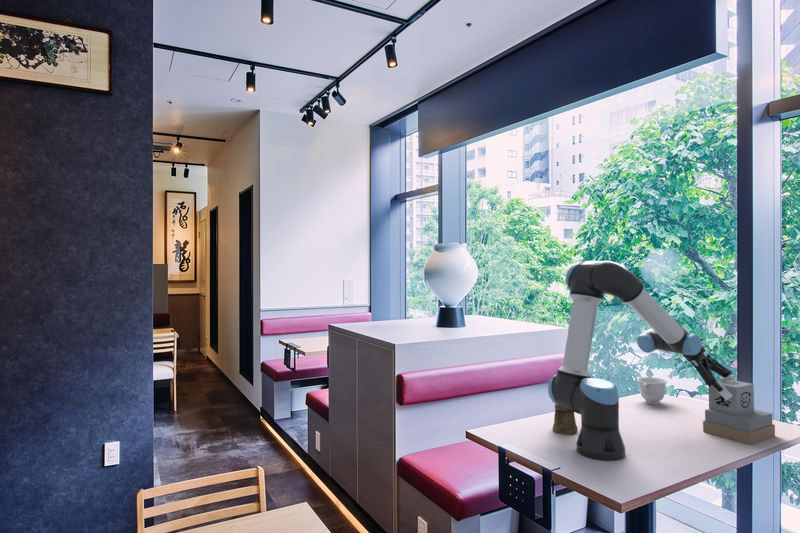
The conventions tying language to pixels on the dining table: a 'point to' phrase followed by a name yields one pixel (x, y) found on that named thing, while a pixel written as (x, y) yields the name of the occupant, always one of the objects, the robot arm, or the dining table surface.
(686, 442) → the dining table surface
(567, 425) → the wooden mug
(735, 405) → the icon cube
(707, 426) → the tower base
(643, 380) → the teacup
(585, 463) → the dining table surface
